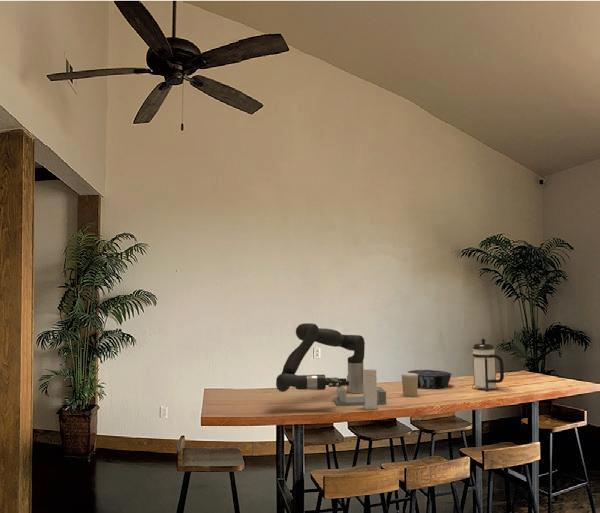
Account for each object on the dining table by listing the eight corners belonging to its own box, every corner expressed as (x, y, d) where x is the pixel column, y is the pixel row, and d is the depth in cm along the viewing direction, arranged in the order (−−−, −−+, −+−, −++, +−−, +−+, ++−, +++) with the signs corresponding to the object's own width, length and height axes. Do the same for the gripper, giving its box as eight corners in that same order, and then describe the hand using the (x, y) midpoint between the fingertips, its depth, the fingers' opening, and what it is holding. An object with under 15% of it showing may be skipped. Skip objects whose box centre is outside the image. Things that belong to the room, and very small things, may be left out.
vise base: (336, 405, 269) (336, 391, 270) (333, 399, 284) (332, 385, 285) (386, 404, 271) (386, 389, 272) (380, 398, 286) (379, 384, 287)
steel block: (365, 409, 261) (364, 370, 262) (363, 407, 265) (362, 369, 266) (377, 409, 261) (376, 370, 262) (375, 407, 265) (374, 369, 267)
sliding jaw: (340, 401, 271) (340, 390, 271) (337, 397, 284) (336, 386, 284) (346, 401, 271) (345, 390, 271) (342, 396, 284) (342, 386, 284)
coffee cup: (419, 394, 297) (418, 373, 298) (418, 397, 288) (417, 375, 289) (402, 393, 300) (402, 372, 301) (401, 396, 291) (400, 375, 292)
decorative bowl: (421, 394, 309) (421, 377, 309) (399, 382, 335) (399, 367, 335) (459, 391, 316) (459, 374, 316) (434, 380, 342) (435, 365, 342)
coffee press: (473, 391, 304) (471, 339, 307) (470, 386, 320) (469, 337, 322) (504, 392, 300) (502, 340, 302) (500, 387, 316) (499, 337, 318)
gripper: (317, 376, 255) (349, 376, 256) (314, 372, 269) (345, 372, 270) (317, 392, 255) (350, 392, 256) (314, 387, 269) (345, 387, 270)
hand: (347, 382), depth 263 cm, fingers open, 8 cm apart
